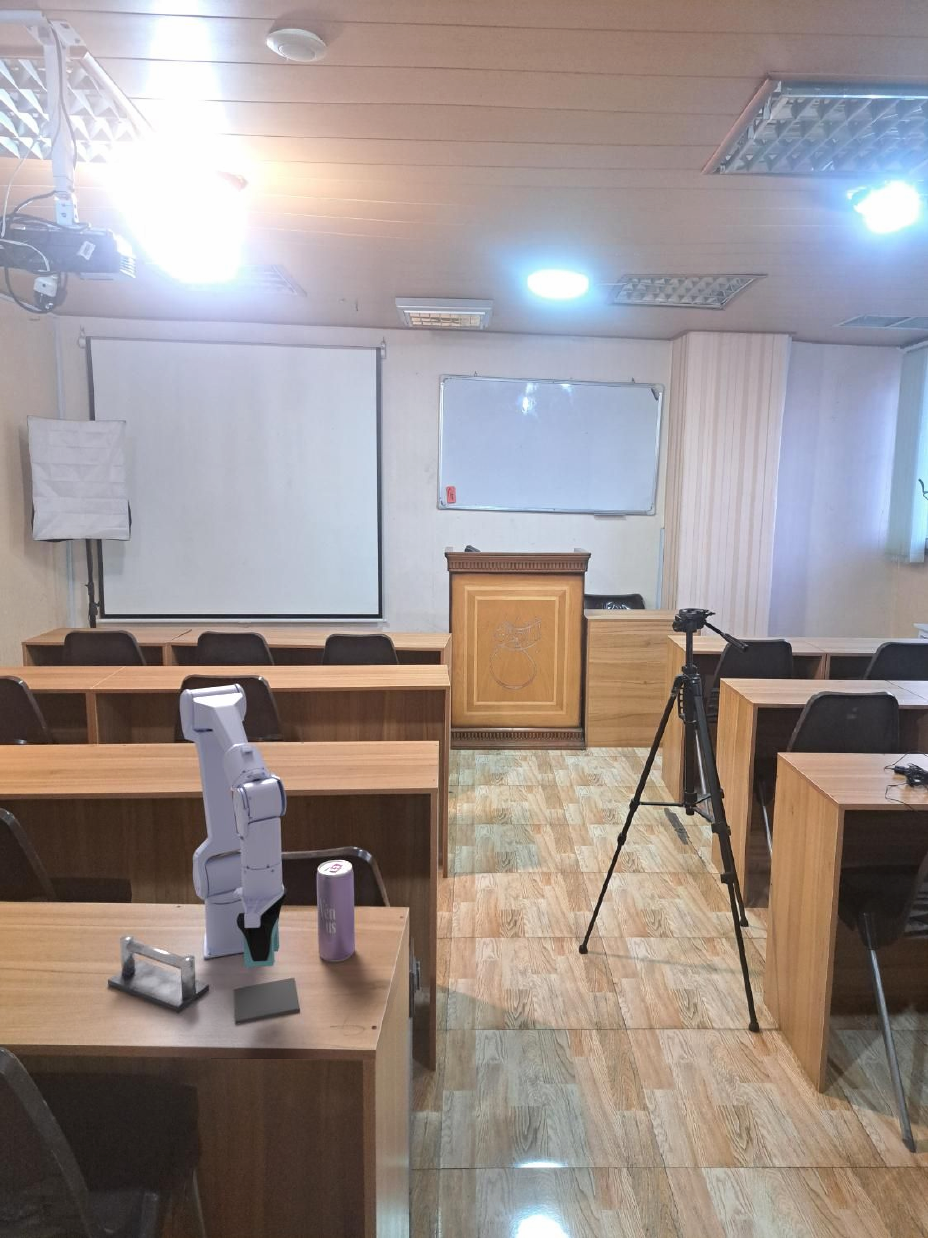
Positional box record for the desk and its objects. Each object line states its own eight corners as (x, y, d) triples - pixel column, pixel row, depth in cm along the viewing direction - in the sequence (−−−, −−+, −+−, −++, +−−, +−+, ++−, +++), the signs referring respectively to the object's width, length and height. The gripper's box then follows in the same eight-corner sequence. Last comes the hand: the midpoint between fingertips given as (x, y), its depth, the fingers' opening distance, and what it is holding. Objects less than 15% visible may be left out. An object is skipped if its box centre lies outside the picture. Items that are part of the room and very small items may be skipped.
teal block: (252, 948, 112) (250, 917, 111) (279, 947, 112) (277, 915, 111) (245, 967, 107) (243, 934, 106) (273, 966, 107) (271, 933, 106)
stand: (140, 966, 119) (138, 927, 119) (209, 990, 113) (207, 950, 112) (108, 986, 114) (105, 946, 113) (178, 1013, 107) (176, 971, 107)
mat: (294, 980, 115) (294, 977, 115) (299, 1011, 108) (299, 1008, 108) (234, 992, 112) (233, 989, 112) (235, 1024, 105) (235, 1021, 105)
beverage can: (361, 947, 125) (359, 862, 123) (344, 966, 119) (342, 877, 117) (329, 941, 126) (327, 857, 125) (311, 960, 121) (309, 872, 119)
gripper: (245, 841, 115) (248, 925, 116) (220, 885, 100) (224, 979, 102) (291, 840, 115) (293, 923, 116) (273, 883, 101) (276, 977, 102)
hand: (264, 949), depth 109 cm, fingers closed on teal block, 5 cm apart
